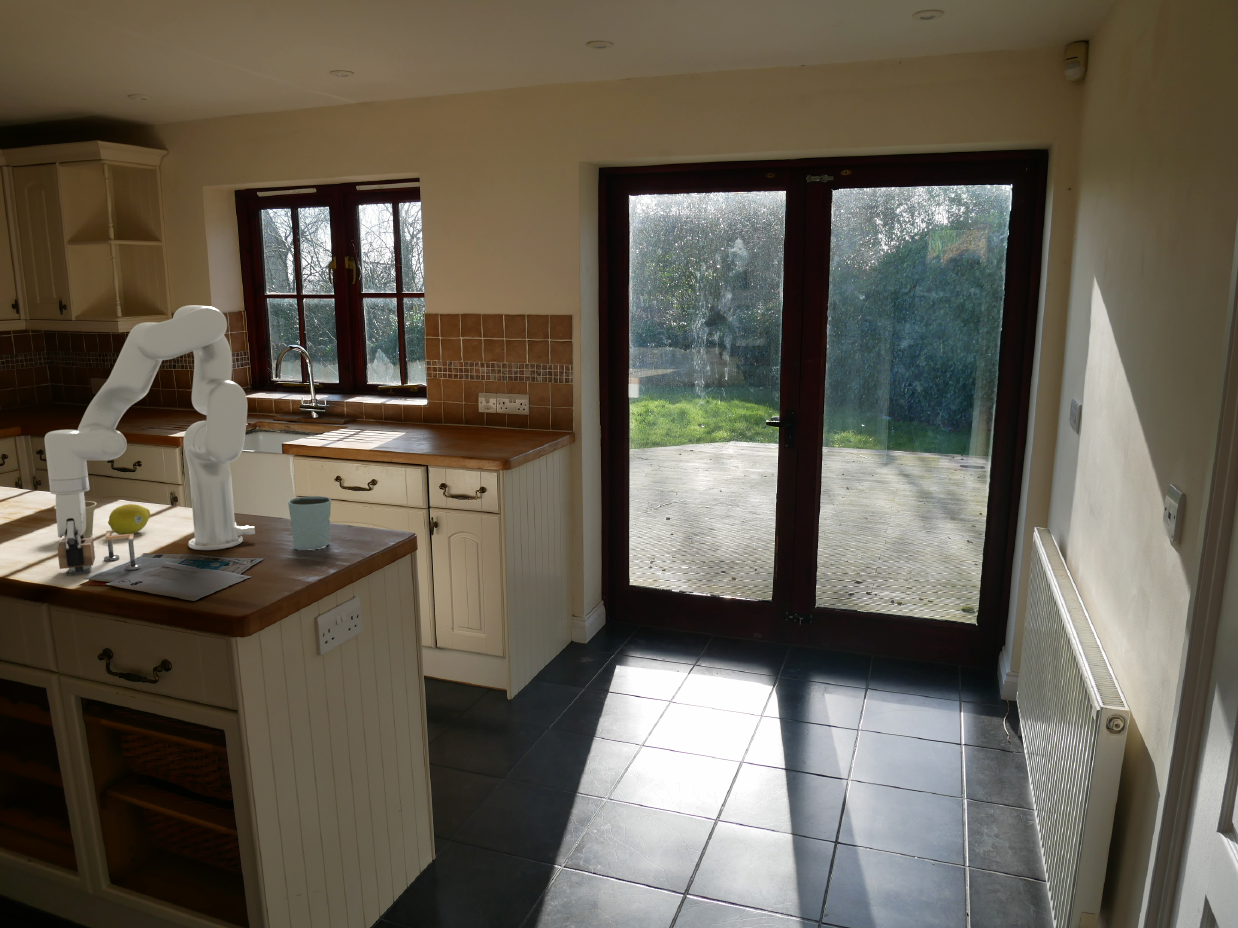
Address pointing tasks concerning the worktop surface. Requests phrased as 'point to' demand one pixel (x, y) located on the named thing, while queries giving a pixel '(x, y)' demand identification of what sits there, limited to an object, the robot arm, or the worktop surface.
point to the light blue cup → (310, 521)
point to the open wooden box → (87, 553)
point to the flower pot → (88, 518)
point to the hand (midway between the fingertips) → (77, 560)
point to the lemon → (128, 519)
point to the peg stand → (78, 569)
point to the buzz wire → (116, 557)
